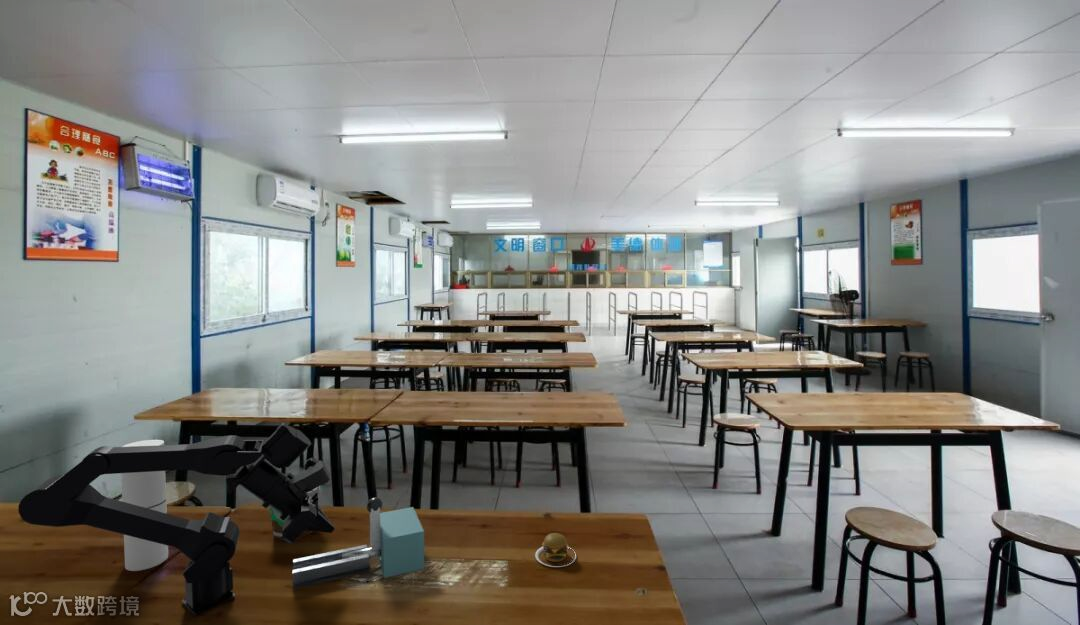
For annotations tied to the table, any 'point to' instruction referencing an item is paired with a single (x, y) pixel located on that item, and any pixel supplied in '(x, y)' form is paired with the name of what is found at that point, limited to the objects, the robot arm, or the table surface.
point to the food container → (278, 522)
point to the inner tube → (371, 532)
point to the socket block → (401, 542)
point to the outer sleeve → (328, 567)
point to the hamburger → (554, 549)
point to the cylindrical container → (147, 494)
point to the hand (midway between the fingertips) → (333, 530)
